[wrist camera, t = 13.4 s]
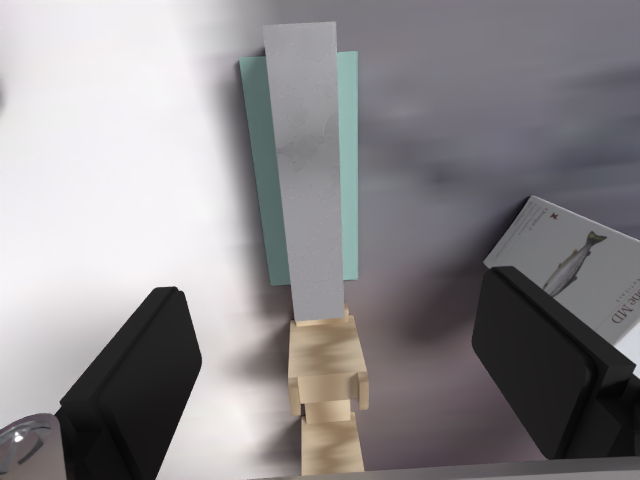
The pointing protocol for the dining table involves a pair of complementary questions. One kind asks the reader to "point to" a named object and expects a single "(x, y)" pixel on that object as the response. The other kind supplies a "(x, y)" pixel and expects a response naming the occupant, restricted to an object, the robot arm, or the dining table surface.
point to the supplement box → (579, 269)
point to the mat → (267, 163)
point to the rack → (327, 392)
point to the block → (308, 161)
